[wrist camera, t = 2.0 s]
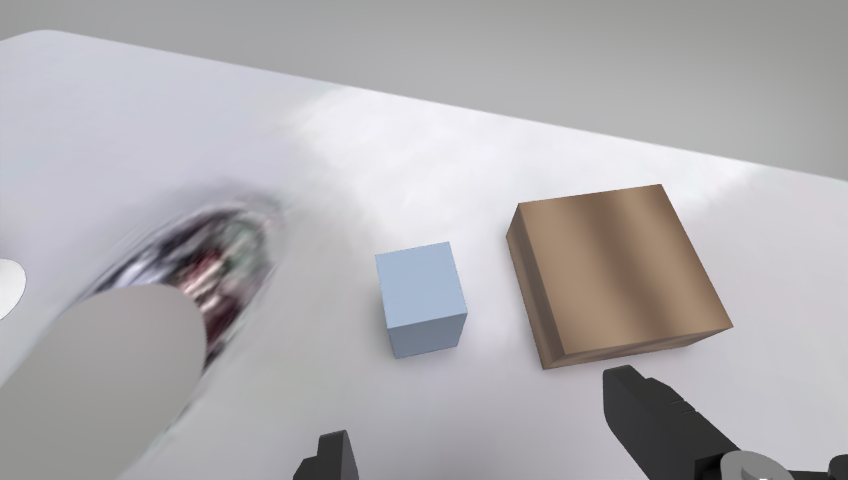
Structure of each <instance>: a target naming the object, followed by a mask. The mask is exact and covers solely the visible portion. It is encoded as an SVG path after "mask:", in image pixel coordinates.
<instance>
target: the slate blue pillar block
mask: <svg viewBox="0 0 848 480" xmlns="http://www.w3.org/2000/svg"><path fill="white" fill-rule="evenodd" d="M375 258H376V264H377V270H378V276H379V282H380V288H381V293H382V299H383V305H384V311H385V317H386V323H387V329H388V332H389V336H390V339H391V343H392V347H393V350H394V354H395V357H396V359H399V358H403V357H408V356H413V355H417V354H422V353H427V352H432V351H436V350H441V349H446V348H451V347H455V346H457V344H458V341H459V338H460V335H461V332H462V329H463V326H464V323H465V320H466V316H467V313H468V311H467V307H466V304H465V300H464V296H463V292H462V289H461V285H460V281H459V277H458V274H457V270H456V266H455V262H454V259H453V255H452V251H451V247H450V243H449V242H443V243H438V244H433V245H427V246H422V247H417V248H411V249H406V250H400V251H395V252H390V253H384V254H379V255H375Z"/></svg>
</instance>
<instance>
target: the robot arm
mask: <svg viewBox="0 0 848 480" xmlns="http://www.w3.org/2000/svg"><path fill="white" fill-rule="evenodd" d="M603 403H604V414H605V418H606V421H607V423H608V426H609V427H610V429H611V431H612V432H613V434H614V435H615V436H616V437H617V439H618V440H619V441H620V443H621V444H622V445H623V446H624V448H625V449H626V450H627V451H628V453H629V454H630V455H631V457H632V458H633V459H634V460H635V462H636V463H637V464H638V466H639V467H640V468H641V469H642V471H643V472H644V473H645V475H646V476H647V477H648V478H649V480H848V454H845V455H839V456H836V457H834V458H832V460H831V461H830V463H829V468H828V472H811V471H791V470H786V469H785V468H784V467H783V466H781V465H780V464H779V463H777V462H776V461H774V460H772V459H770V458H768V457H766V456H764V455H761V454H758V453H755V452H750V451H742V450H740V449H739V448H738V447H737V446H736V445H735V444H734V443H733V442H731V441H730V440H729V439H728V438H727V437H726V436H725V435H724V434H722V433H721V432H720V431H719V430H718V429H717V428H716V427H715V426H713V425H712V424H711V423H710V422H709V421H708V420H707V419H706V418H704V417H703V416H702V415H701V414H700V413H699V412H696V411H695V409H694V408H693V407H692V406H691V405H690V404H689V403H688V402H686V401H684V399H683V398H682V397H681V396H680V395H679V394H678V393H676V392H675V391H674V390H673V389H672V388H671V387H670V386H668V385H666V384H664V383H662V382H660V381H658V380H656V379H654V378H647V379H645V378H644V377H643V376H642V375H641V374H640V373H638V372H637V371H636V370H635V369H634V368H633V367H632V366H630V365H624V366H620V367H616V368H611V369H607V370H604V372H603ZM293 480H359V476H358V470H357V466H356V463H355V459H354V455H353V452H352V448H351V444H350V441H349V437H348V434H347V431H346V430H342V431H337V432H333V433H329V434H325V435H321V436H320V438H319V444H318V451H317V456H314V457H310V458H306V459H304V460H303V461H302V463H301V465H300V466H299V468H298V469H297V471H296V473H295V474H294V476H293Z"/></svg>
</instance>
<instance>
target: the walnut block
mask: <svg viewBox="0 0 848 480" xmlns="http://www.w3.org/2000/svg"><path fill="white" fill-rule="evenodd" d="M506 239H507V242H508V246H509V250H510V253H511V257H512V260H513V264H514V267H515V271H516V275H517V278H518V282H519V285H520V289H521V292H522V296H523V300H524V303H525V307H526V310H527V314H528V317H529V321H530V325H531V328H532V332H533V335H534V339H535V342H536V346H537V350H538V353H539V357H540V360H541V364H542V367H543V370H545V369H551V368H557V367H563V366H569V365H575V364H582V363H588V362H594V361H600V360H606V359H612V358H618V357H624V356H630V355H636V354H642V353H648V352H654V351H660V350H666V349H672V348H678V347H684V346H688V345H690V344H693V343H695V342H698V341H700V340H703V339H705V338H708V337H710V336H712V335H715V334H717V333H720V332H722V331H725V330H727V329H730V328H732V327H734V326H733V324H732V322H731V320H730V319H729V317H728V315H727V313H726V311H725V309H724V307H723V305H722V303H721V301H720V299H719V297H718V295H717V293H716V291H715V289H714V287H713V285H712V283H711V281H710V279H709V277H708V275H707V273H706V271H705V269H704V267H703V265H702V263H701V261H700V259H699V257H698V255H697V254H696V252H695V250H694V248H693V246H692V244H691V242H690V240H689V238H688V236H687V234H686V232H685V230H684V228H683V226H682V224H681V222H680V220H679V218H678V216H677V214H676V212H675V210H674V208H673V206H672V204H671V202H670V200H669V198H668V196H667V194H666V192H665V191H664V189H663V187H662V185H661V184H657V185H650V186H643V187H635V188H628V189H620V190H613V191H606V192H598V193H591V194H583V195H576V196H568V197H561V198H554V199H546V200H539V201H531V202H524V203H518V206H517V209H516V211H515V214H514V217H513V219H512V222H511V224H510V227H509V230H508V232H507V235H506Z"/></svg>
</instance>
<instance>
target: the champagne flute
mask: <svg viewBox="0 0 848 480" xmlns="http://www.w3.org/2000/svg"><path fill="white" fill-rule="evenodd" d="M25 284H26V276H25V272H24V270H23V268H22V267H21V266H20V265H19V264H18V263H16V262H15V261H12V260H8V259H0V320H1V319H2V318H3V317H5V316H6V315H7V314H8V313H9V312H10V311H11V310H12V309H13V308H14V307H15V305H16V304H17V303H18V301H19V300H20V298H21V296H22V294H23V291H24V289H25Z"/></svg>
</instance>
